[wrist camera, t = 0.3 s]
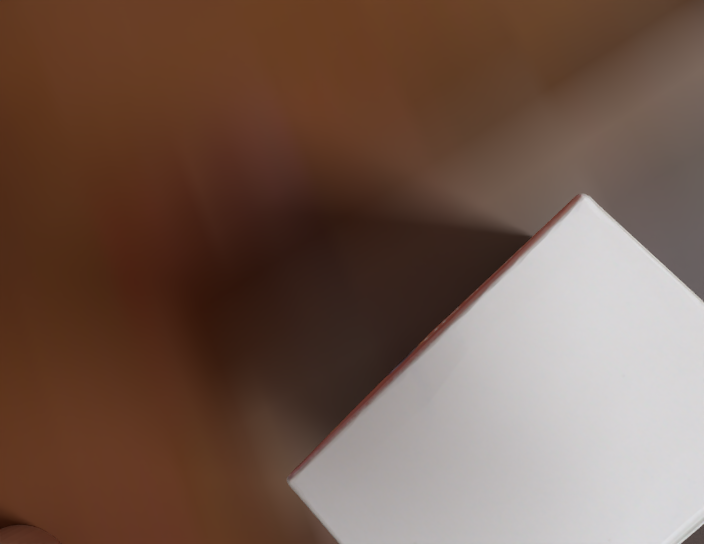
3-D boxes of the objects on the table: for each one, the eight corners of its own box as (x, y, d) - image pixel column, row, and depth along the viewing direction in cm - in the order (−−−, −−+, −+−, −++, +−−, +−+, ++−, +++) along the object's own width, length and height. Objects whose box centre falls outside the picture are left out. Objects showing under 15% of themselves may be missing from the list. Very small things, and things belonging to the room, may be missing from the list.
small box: (538, 234, 22) (591, 176, 11) (666, 357, 21) (851, 416, 10) (368, 397, 22) (272, 481, 12) (483, 522, 22) (486, 727, 11)
